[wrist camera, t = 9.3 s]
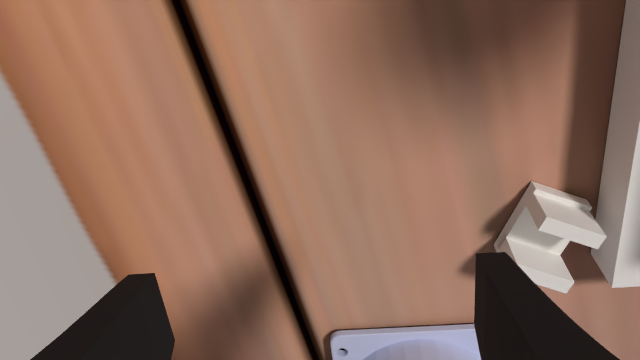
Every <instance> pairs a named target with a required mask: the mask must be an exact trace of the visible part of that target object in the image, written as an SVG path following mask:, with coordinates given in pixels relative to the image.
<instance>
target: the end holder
mask: <svg viewBox="0 0 640 360" xmlns="http://www.w3.org/2000/svg"><path fill="white" fill-rule="evenodd" d="M595 220H596V222H597V223H598V225H599V226H600V227H601V229H602V230H603V232H604V233H605V235H606V236H607V237H606V239H605V240H604V241H603V243H602V244H601V246H600V247H599V248H598V249H595V248H592V247H591V255H592V257H593V258H594V260H595V262H596V263H597V265H598V266H599V268H600V270H601V271H602V273H603V274H604V276H605V278H606V279H607V281H608V283H609V284H610V286H611V287H612V288H618V287H636V286H640V0H626V5H625V12H624V19H623V26H622V33H621V40H620V47H619V55H618V62H617V69H616V76H615V83H614V90H613V97H612V104H611V112H610V119H609V126H608V133H607V140H606V147H605V154H604V161H603V169H602V176H601V183H600V190H599V197H598V204H597V211H596V218H595Z"/></svg>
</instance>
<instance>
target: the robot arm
mask: <svg viewBox="0 0 640 360" xmlns="http://www.w3.org/2000/svg"><path fill="white" fill-rule="evenodd" d="M174 342H175V339H174V336H173V332H172V329H171V326H170V323H169V319H168V316H167V313H166V309H165V306H164V303H163V300H162V296H161V293H160V290H159V286H158V283H157V280H156V277H155V273H148V274H132V275H128V276H127V277H125V278H124V279H123V280H122V281H120V282H119V283H118V284H117V285H116V286H115V287H114V288H112V289H111V290H110V291H109V292H108V293H107V294H106V295H105V296H104V297H103V298H101V299H100V300H99V301H98V302H97V303H96V304H95V305H94V306H93V307H91V308H90V309H89V310H88V311H87V312H86V313H85V314H84V315H83V316H81V317H80V318H79V319H78V320H77V321H76V322H75V323H73V324H72V325H71V326H70V327H69V328H68V329H67V330H66V331H65V332H63V333H62V334H61V335H60V336H59V337H57V338H56V339H55V340H54V341H53V342H51V343H50V344H49V345H48V346H46V347H45V348H44V349H43V350H42V351H41V352H39V353H38V354H37V355H36V356H34V357H33V358H32V359H31V360H171V357H172V352H173V347H174ZM330 346H331V353H332V360H620V359H618V358H617V357H616V356H614V355H613V354H612V353H610V352H609V351H608V350H607V349H605V348H604V347H603V346H602V345H601V344H599V343H598V342H597V341H596V340H595V339H593V338H592V337H591V336H590V335H589V334H588V333H586V332H585V331H584V330H583V329H582V328H581V327H580V326H578V325H577V324H576V323H575V322H574V321H573V320H572V319H571V318H570V317H569V316H568V315H566V314H565V313H564V312H563V311H562V310H561V309H560V308H559V307H558V306H557V305H556V304H555V303H554V302H553V301H552V300H551V299H550V298H549V297H548V296H547V295H546V294H545V293H544V292H543V291H542V290H541V289H540V288H539V287H538V286H537V285H536V284H535V283H534V282H533V281H532V280H531V279H530V278H529V277H528V276H527V274H526V273H525V272H524V271H523V270H522V269H521V268H520V267H519V266H518V265H517V264H516V262H515V261H514V260H513V259H512V258H511V257H510V256H509V255H508V254H507V253H506V252H496V253H479V254H476V276H475V316H474V324H463V325H443V326H423V327H403V328H382V329H362V330H342V331H336V332H334V333H333V334H332V335H331V339H330ZM340 348H344V349H346V350H339V349H340Z"/></svg>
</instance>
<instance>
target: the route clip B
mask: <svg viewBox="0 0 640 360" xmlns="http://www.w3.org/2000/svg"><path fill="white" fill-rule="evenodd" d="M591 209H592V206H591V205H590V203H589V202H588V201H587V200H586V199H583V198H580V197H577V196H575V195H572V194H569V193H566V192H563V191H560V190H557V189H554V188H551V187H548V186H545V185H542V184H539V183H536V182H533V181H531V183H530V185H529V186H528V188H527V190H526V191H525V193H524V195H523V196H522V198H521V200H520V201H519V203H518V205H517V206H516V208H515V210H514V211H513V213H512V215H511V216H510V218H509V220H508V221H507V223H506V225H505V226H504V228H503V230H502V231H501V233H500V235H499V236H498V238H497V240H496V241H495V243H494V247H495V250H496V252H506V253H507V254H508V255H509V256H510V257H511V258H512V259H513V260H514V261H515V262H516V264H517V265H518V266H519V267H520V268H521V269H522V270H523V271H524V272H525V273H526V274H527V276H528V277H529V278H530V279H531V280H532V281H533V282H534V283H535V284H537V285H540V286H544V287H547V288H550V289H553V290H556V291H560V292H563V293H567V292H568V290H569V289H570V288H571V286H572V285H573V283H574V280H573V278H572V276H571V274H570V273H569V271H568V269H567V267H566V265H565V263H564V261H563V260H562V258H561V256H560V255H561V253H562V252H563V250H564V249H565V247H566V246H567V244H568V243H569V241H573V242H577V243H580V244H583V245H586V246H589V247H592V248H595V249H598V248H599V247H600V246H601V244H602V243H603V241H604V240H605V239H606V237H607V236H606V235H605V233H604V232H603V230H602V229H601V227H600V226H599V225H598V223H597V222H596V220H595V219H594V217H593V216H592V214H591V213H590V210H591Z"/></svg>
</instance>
